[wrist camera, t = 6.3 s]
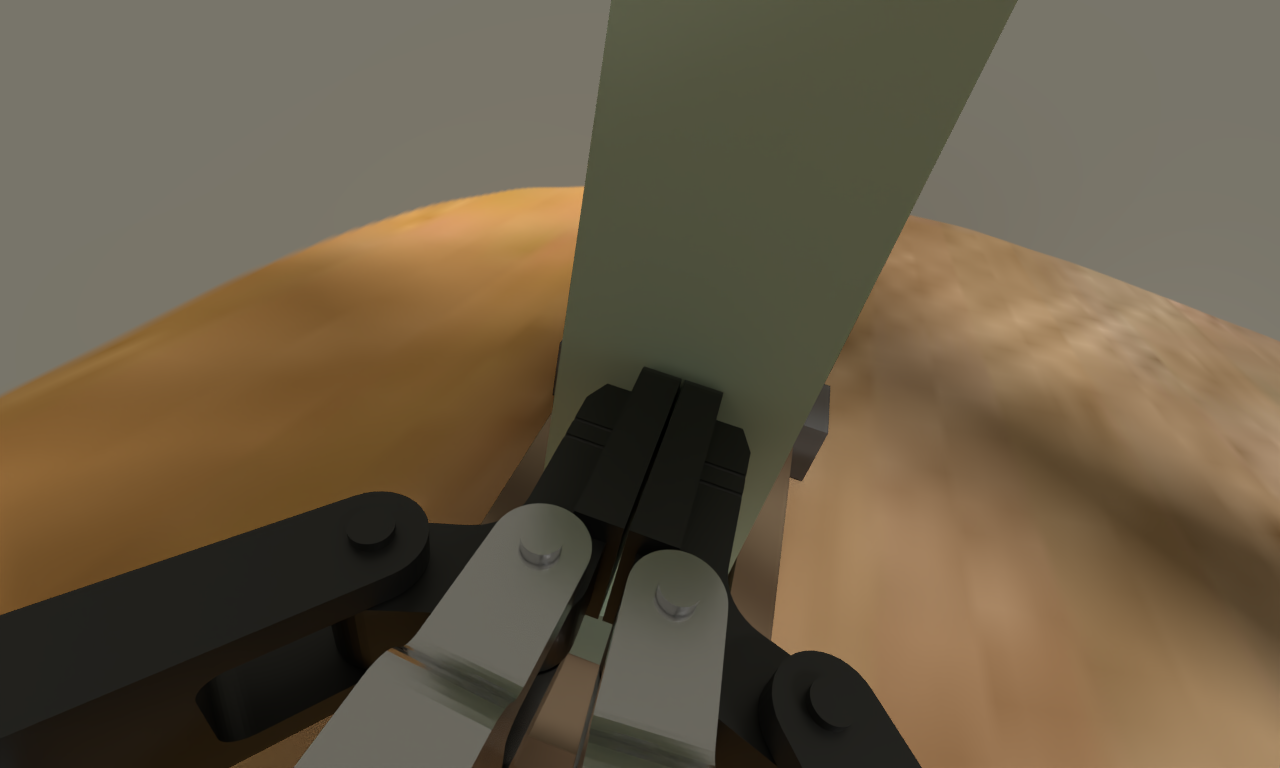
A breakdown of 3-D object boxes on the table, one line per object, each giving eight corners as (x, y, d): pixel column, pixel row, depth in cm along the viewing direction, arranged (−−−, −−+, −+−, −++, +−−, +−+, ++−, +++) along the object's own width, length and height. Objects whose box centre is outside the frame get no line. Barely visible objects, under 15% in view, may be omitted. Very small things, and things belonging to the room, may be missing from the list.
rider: (680, 696, 15) (1197, -268, 5) (507, 628, 16) (624, -388, 5) (719, 521, 20) (1026, -163, 9) (585, 473, 21) (731, -232, 10)
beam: (762, 916, 13) (810, 884, 11) (328, 734, 14) (311, 680, 12) (814, 342, 32) (835, 297, 30) (627, 281, 33) (637, 235, 31)
